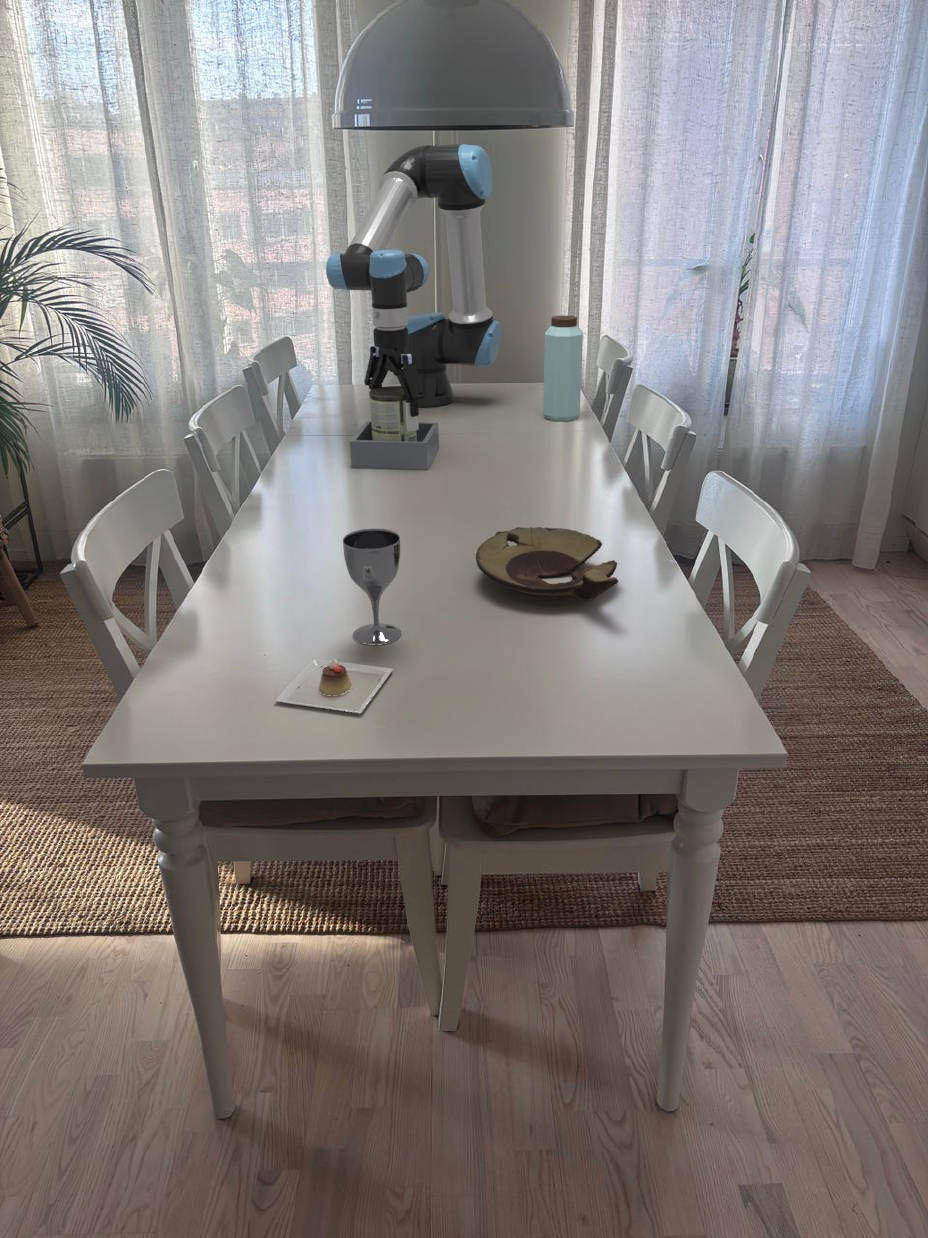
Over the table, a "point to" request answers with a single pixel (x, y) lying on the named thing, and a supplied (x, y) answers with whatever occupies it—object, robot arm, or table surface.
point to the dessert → (331, 681)
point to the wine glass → (373, 576)
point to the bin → (395, 449)
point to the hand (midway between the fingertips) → (395, 424)
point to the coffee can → (389, 415)
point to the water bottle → (562, 369)
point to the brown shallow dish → (545, 562)
